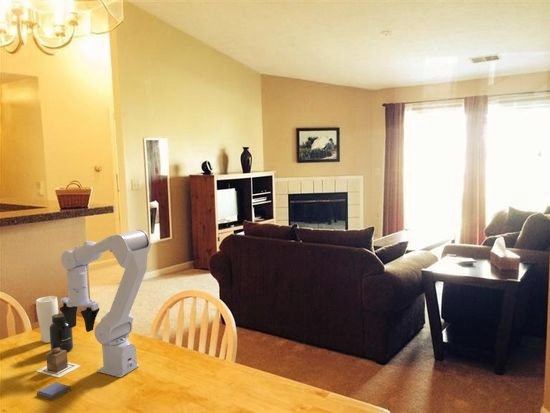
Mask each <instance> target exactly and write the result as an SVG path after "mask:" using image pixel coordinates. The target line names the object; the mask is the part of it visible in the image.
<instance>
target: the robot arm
mask: <svg viewBox="0 0 550 413" xmlns="http://www.w3.org/2000/svg"><path fill="white" fill-rule="evenodd" d="M151 247H152V243H151V240H150V237H149V235H148V233H147V232H146V231H145V230H144V229H137V230H133V231H128V232H122V233H118V234H113V235H110V236H107V237H105V238H104V239H102V240H100V241H98V242H96V241H91V240H86V241H84V242H83V244H82V245H76V246H75V247H74V249H72V250H71V249H70V250H65V251H64V252H63V253H61V258H60V260H61V265H62V266H63V268H64V269H65V271H66V279H67V280H66V281H67V293H68V297H66V296H65V297H62V298H60V305H61V307H59V311H60V313H63V315H64V316H65V318H66V321H67V323H68V326H69V328H72V329H73V328H75V327H77V312H78V308H83V309H84V310H81V311H80V314H81V315H82V318H83V321H84V327H85V331H86V333H89V332H91V331H94V337H95V339H96V341H97V342H98V343H99V344H100V345H101V349H102V363H103V364H102V365H103V366H102V367H100V368H98V369H97V371H96V372H97V373H102V374H104V375H110V376H113V377H117V378H122V377H124V376H125V375H128V374H129V373H131V372H132V371H134V370H135V369H137V368H139V366H140V365H139V364H138V360H137V347H136V345H135V344H134V343H132V342H131V341H129V339H128V338H130V334H131V332H132V330H133V321H134V319H135V318H134V316H133V315H132V313H130V312H131V311H132V308H133V305H134V303H135V300H136V298H137V295H138V293H139V290H140V289H141V288H140V287H141V284H142V282H143V279H144V277H145V274H146V272H147V269H148V254H149V253H150V250H151ZM108 251H109V252H110V253H112V255H113V256H114V257H115V259H116V261H117V262H118V264H119V265H120V267H121V268H123V269H124V272H123V274H122V277H121V280H120V283H119V285H118V288H117V291H116V293H115V296H114V299H113V301H112V305H110V306H111V307H110V310H109V312H107V313H106V314H105V315H104V316H103V317H102V318H101V319H100V321H99V323H98V324H96V325H95V321H96V318H97V316H98V314H99V311H100V306H99V302H97V301H94V300H92V299H90V298H89V286H88V270H89V264H90V263H92V262H95V261H98V260H99V259H100V258H101V257H102V254H103V253H106V252H108Z"/></svg>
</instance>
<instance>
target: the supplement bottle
mask: <svg viewBox="0 0 550 413" xmlns="http://www.w3.org/2000/svg"><path fill="white" fill-rule="evenodd" d="M52 322H53V323H52V324H51V325H50V327H49V330H50V342H49V343H50V345H49V346H50V352H51V351H52V349H53V348H60V349H62V350H67V353H69V352H70V351H72V350H73V349H74V340H73V339H74V337H73V335H74V334H73V328H69V326H68V323H67V321H66V318H65V316H64V315H63V313H62V312H60V313H59V312H58V314H55V315H53V316H52Z"/></svg>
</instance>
